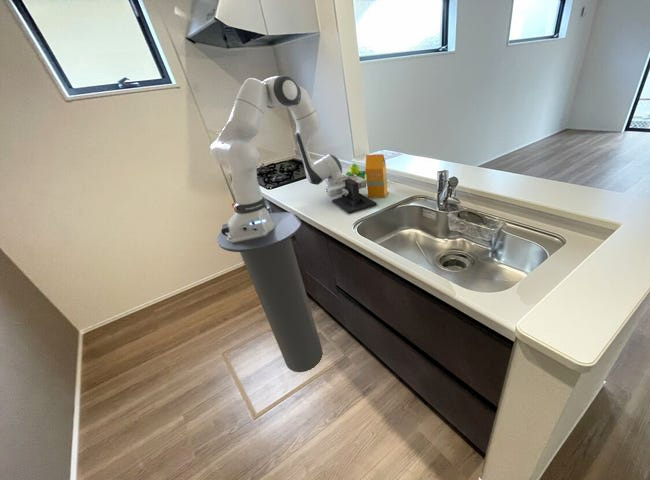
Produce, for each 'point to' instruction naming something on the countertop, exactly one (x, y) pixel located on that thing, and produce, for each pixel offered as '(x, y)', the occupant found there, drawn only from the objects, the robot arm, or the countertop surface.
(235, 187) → the robot arm
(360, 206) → the base pad
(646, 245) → the countertop surface
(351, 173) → the fruit basket
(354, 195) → the upright pad
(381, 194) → the orange juice
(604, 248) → the countertop surface
